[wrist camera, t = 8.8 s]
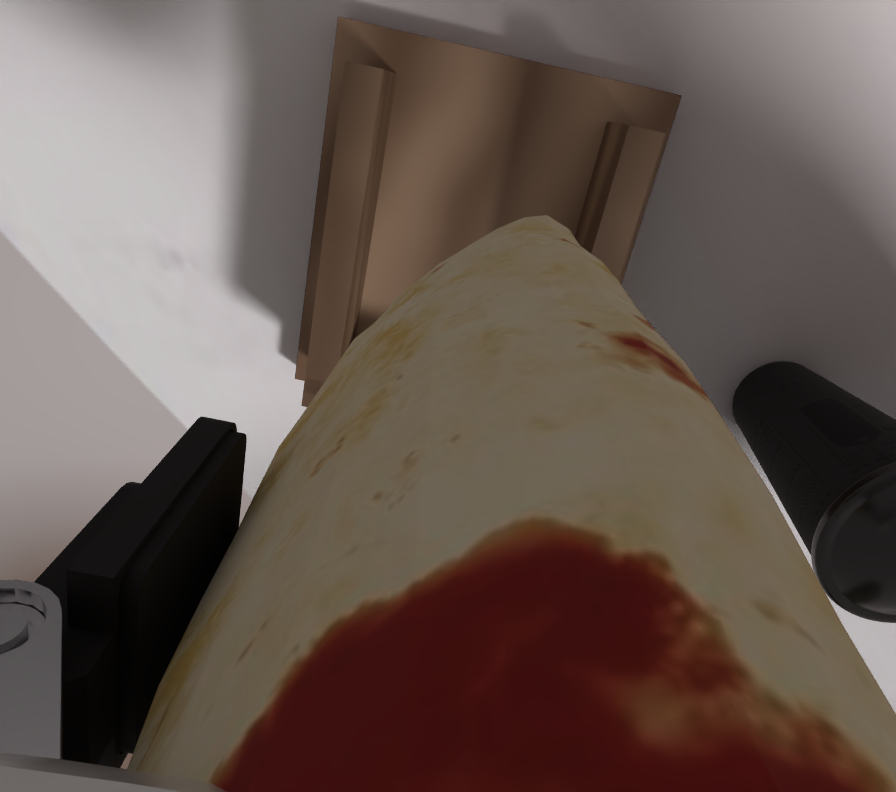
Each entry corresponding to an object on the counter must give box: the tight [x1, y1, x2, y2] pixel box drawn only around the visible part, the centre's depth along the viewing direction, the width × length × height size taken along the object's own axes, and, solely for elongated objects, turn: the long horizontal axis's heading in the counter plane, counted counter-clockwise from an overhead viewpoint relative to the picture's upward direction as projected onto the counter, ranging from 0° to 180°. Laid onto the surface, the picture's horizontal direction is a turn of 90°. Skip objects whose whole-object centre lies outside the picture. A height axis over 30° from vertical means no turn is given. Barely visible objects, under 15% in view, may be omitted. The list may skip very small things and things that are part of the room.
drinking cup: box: [733, 362, 896, 623], centre depth 29 cm, size 8×8×20 cm
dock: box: [295, 17, 681, 407], centre depth 32 cm, size 16×18×6 cm
